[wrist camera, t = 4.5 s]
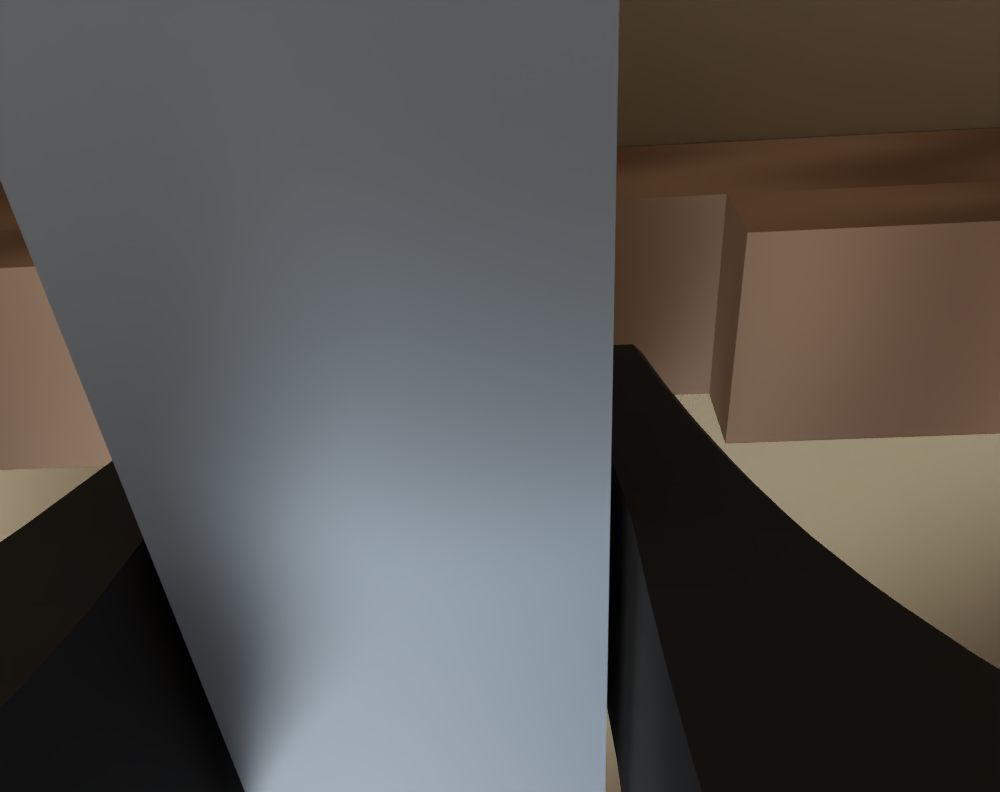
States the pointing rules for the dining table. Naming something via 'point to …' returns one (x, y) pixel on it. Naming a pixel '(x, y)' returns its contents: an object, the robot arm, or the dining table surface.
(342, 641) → the plain blue-gray board
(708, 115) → the dining table surface
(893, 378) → the notched rail
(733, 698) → the robot arm
